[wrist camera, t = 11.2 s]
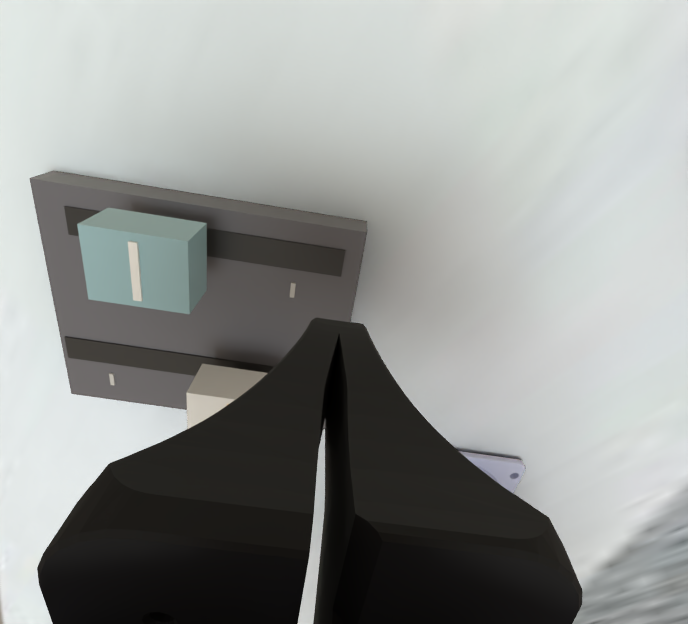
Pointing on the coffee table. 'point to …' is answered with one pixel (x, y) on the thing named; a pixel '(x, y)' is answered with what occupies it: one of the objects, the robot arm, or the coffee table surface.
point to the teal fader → (144, 260)
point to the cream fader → (216, 390)
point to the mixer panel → (217, 302)
